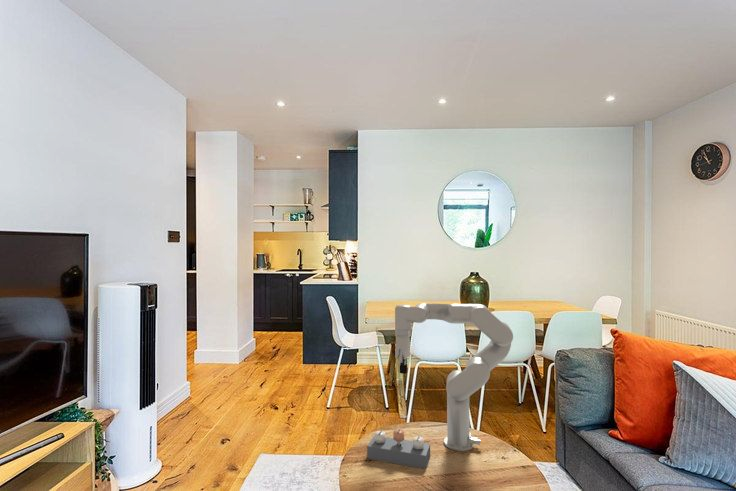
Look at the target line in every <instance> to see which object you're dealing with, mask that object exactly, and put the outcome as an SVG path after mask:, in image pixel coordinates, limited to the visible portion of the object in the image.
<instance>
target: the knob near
mask: <svg viewBox="0 0 736 491" xmlns="http://www.w3.org/2000/svg"><path fill="white" fill-rule="evenodd" d="M412 441H413V448H415V449H423V448H424V443H425V439H424V437H422V436H414V437H412Z"/></svg>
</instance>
